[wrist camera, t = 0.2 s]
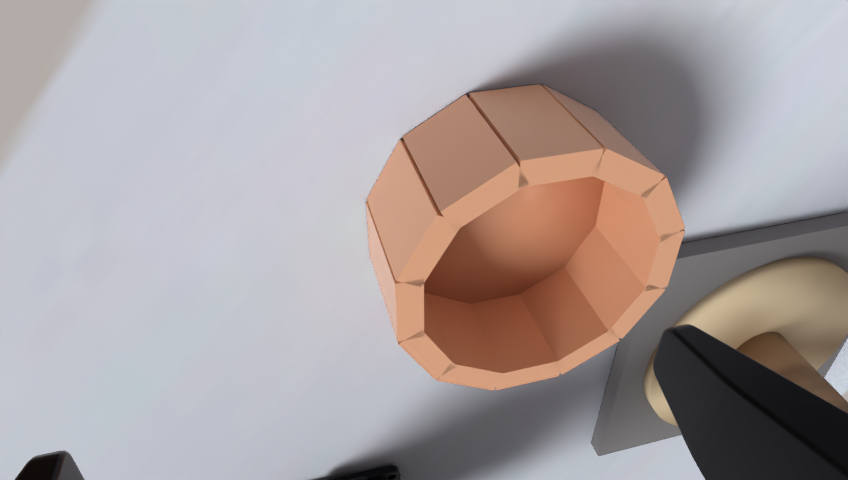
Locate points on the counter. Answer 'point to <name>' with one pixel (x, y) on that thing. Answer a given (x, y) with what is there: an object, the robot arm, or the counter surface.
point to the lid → (774, 323)
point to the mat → (690, 282)
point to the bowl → (518, 237)
